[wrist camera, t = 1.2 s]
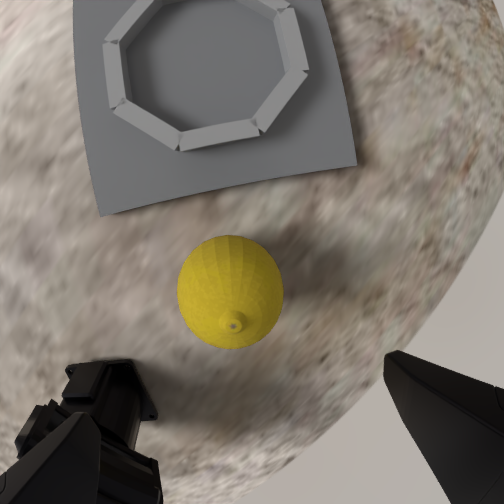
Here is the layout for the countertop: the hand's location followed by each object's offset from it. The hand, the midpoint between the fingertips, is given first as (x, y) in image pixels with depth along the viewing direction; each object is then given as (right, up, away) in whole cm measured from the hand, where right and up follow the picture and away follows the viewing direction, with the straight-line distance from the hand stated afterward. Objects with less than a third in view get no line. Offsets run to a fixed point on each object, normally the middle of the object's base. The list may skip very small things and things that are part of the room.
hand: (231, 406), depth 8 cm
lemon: (-1, +3, +13) cm, 13 cm away
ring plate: (-2, +16, +9) cm, 18 cm away
